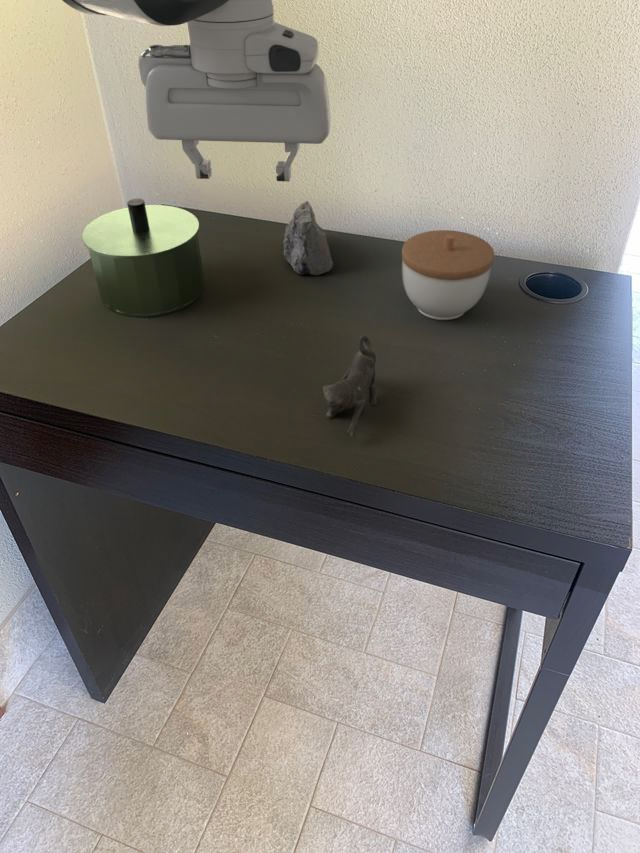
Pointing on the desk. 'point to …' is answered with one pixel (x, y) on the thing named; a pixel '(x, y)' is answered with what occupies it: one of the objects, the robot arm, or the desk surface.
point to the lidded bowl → (445, 272)
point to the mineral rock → (306, 243)
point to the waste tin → (150, 281)
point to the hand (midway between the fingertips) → (243, 178)
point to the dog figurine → (354, 386)
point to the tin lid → (140, 231)
